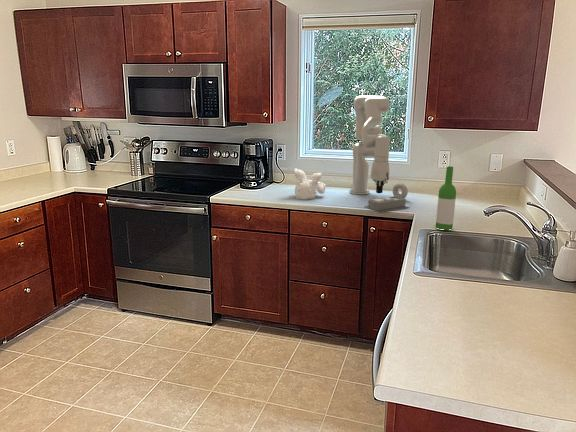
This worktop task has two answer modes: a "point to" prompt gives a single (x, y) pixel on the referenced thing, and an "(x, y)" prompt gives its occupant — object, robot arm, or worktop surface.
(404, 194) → the donut
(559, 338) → the worktop surface
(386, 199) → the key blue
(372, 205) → the keypad
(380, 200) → the key ivory
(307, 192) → the cream lumpy figurine
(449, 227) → the wine bottle
